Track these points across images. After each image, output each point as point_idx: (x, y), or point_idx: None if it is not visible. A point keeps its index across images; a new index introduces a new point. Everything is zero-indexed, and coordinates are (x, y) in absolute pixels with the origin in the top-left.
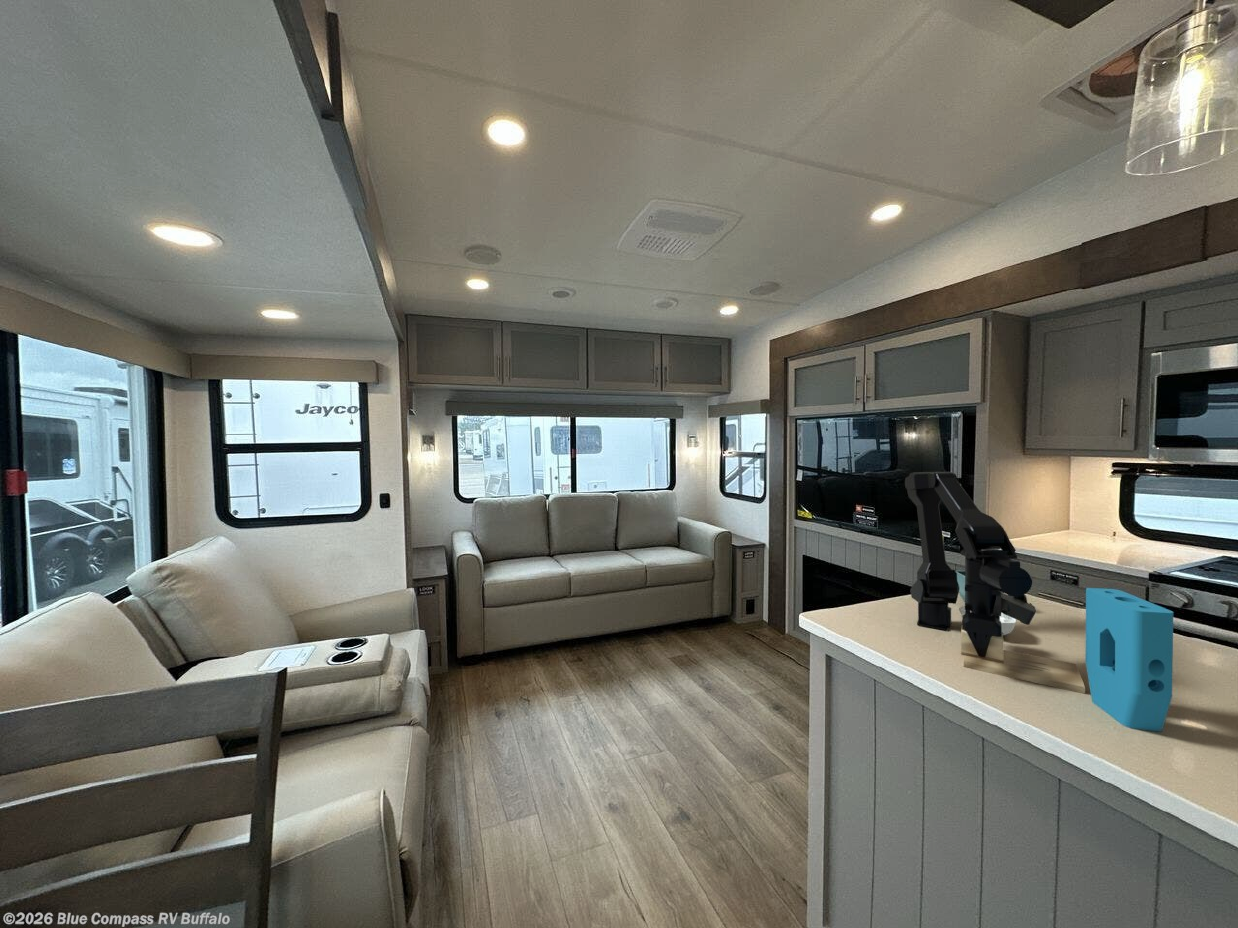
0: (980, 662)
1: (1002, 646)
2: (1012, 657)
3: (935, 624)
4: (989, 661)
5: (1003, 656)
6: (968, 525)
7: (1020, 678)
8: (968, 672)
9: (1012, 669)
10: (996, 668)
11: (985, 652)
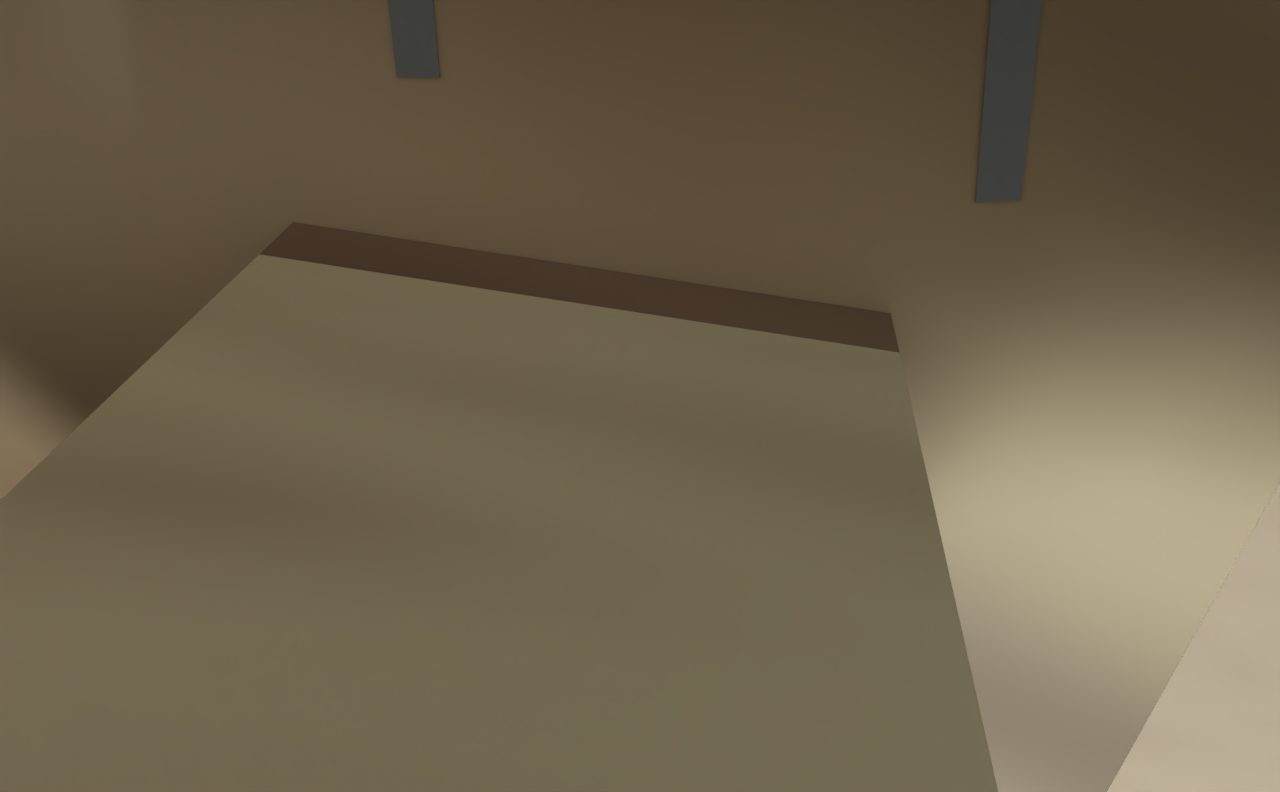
0: (1022, 703)
1: (953, 689)
2: (309, 11)
3: None
4: None
5: (906, 415)
6: None
7: None
8: (1252, 783)
9: (1264, 182)
10: (1267, 500)
11: None
